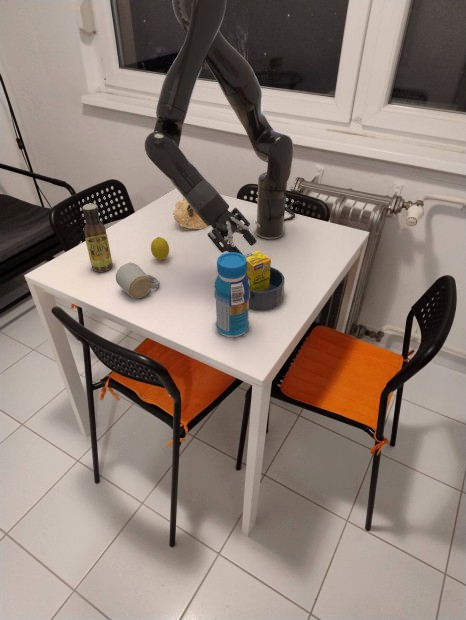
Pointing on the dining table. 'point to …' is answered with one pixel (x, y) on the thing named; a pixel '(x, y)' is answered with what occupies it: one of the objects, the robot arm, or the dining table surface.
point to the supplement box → (258, 271)
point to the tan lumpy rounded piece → (187, 216)
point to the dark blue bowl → (268, 293)
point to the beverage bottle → (232, 294)
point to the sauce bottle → (96, 239)
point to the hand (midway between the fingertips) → (248, 251)
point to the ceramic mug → (135, 280)
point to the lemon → (159, 248)
